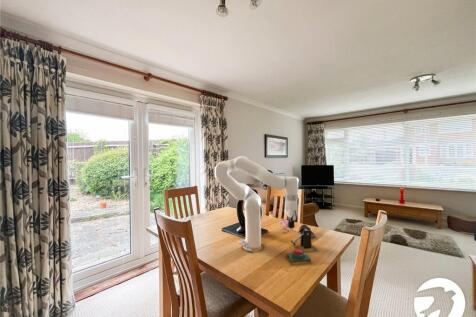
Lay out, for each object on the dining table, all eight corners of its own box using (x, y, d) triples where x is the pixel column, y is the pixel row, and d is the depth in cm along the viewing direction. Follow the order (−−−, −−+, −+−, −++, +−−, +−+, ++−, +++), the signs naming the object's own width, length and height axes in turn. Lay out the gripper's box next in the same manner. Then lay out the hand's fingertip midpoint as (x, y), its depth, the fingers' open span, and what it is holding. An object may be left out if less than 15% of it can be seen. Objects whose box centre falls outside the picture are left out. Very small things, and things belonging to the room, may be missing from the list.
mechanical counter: (311, 224, 147) (298, 222, 147) (319, 229, 134) (304, 226, 134) (309, 234, 146) (296, 232, 146) (317, 240, 134) (302, 237, 133)
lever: (295, 246, 119) (292, 243, 118) (291, 243, 124) (289, 240, 123) (310, 233, 120) (308, 230, 119) (306, 230, 125) (304, 227, 124)
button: (296, 255, 107) (296, 252, 107) (293, 252, 110) (293, 249, 110) (303, 254, 107) (302, 251, 107) (300, 251, 111) (300, 248, 111)
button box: (292, 264, 104) (292, 257, 104) (286, 257, 112) (286, 250, 112) (310, 263, 106) (310, 255, 105) (304, 255, 113) (303, 248, 113)
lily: (297, 235, 145) (298, 221, 149) (284, 231, 141) (286, 217, 145) (286, 234, 155) (287, 222, 159) (274, 231, 151) (276, 218, 155)
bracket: (300, 252, 117) (300, 232, 117) (295, 246, 125) (295, 227, 125) (317, 251, 119) (316, 231, 118) (310, 245, 127) (310, 226, 126)
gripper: (281, 194, 127) (281, 223, 128) (290, 200, 113) (289, 232, 113) (292, 194, 128) (292, 223, 129) (302, 199, 114) (302, 232, 114)
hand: (291, 227), depth 121 cm, fingers closed
